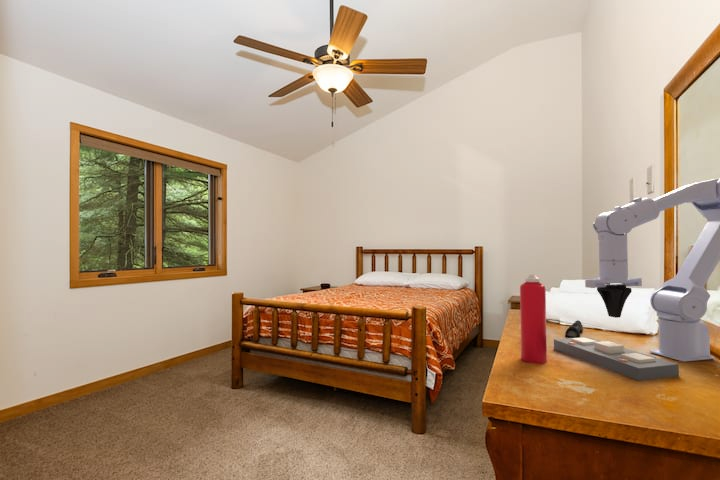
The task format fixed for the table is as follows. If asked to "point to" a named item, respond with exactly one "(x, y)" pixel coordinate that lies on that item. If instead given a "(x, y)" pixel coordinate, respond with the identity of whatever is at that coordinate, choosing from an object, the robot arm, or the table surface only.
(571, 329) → the electric trimmer
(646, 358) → the key
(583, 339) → the key
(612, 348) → the key middle
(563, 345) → the key panel
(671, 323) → the robot arm
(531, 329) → the bottle
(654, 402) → the table surface
